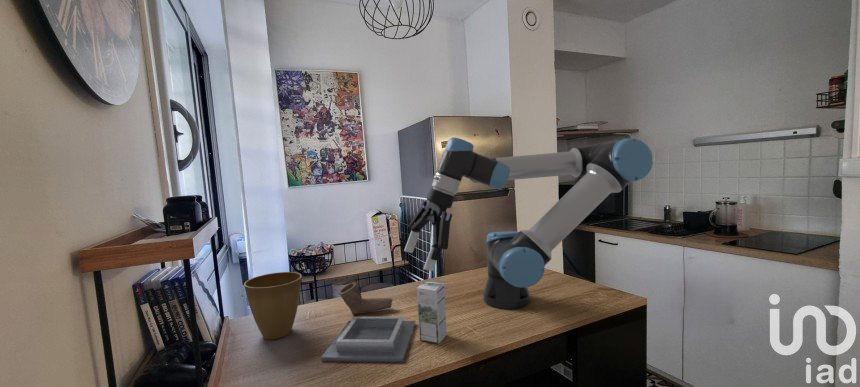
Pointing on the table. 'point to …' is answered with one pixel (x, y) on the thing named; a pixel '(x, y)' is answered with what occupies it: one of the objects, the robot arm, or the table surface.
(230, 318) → the table surface
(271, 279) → the plant pot
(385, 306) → the pipe
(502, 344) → the table surface
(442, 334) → the syrup box
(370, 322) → the duct plate
